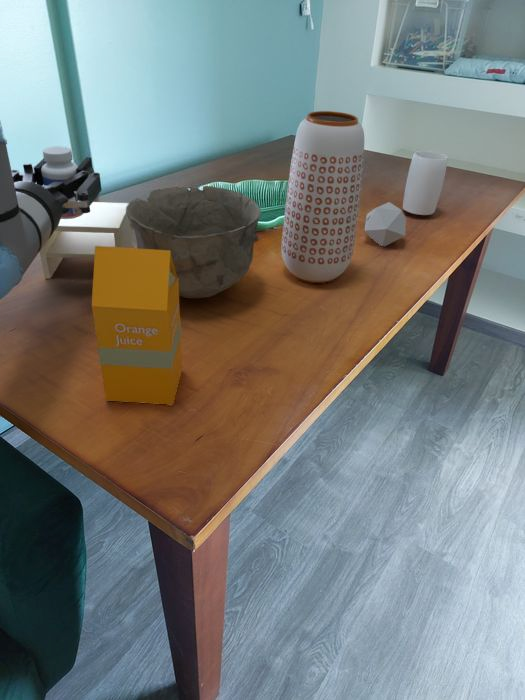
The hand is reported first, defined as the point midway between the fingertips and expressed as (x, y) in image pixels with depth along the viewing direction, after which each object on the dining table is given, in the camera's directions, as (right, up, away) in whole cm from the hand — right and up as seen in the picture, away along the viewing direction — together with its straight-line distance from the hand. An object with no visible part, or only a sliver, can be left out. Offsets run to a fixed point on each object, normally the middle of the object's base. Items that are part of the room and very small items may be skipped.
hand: (70, 165), depth 85 cm
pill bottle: (0, -8, -1) cm, 8 cm away
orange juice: (+15, -34, -13) cm, 39 cm away
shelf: (-2, -13, +16) cm, 21 cm away
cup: (+69, +4, +47) cm, 84 cm away
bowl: (+19, -18, +11) cm, 28 cm away
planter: (+40, -15, +18) cm, 47 cm away
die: (+57, -6, +32) cm, 65 cm away
